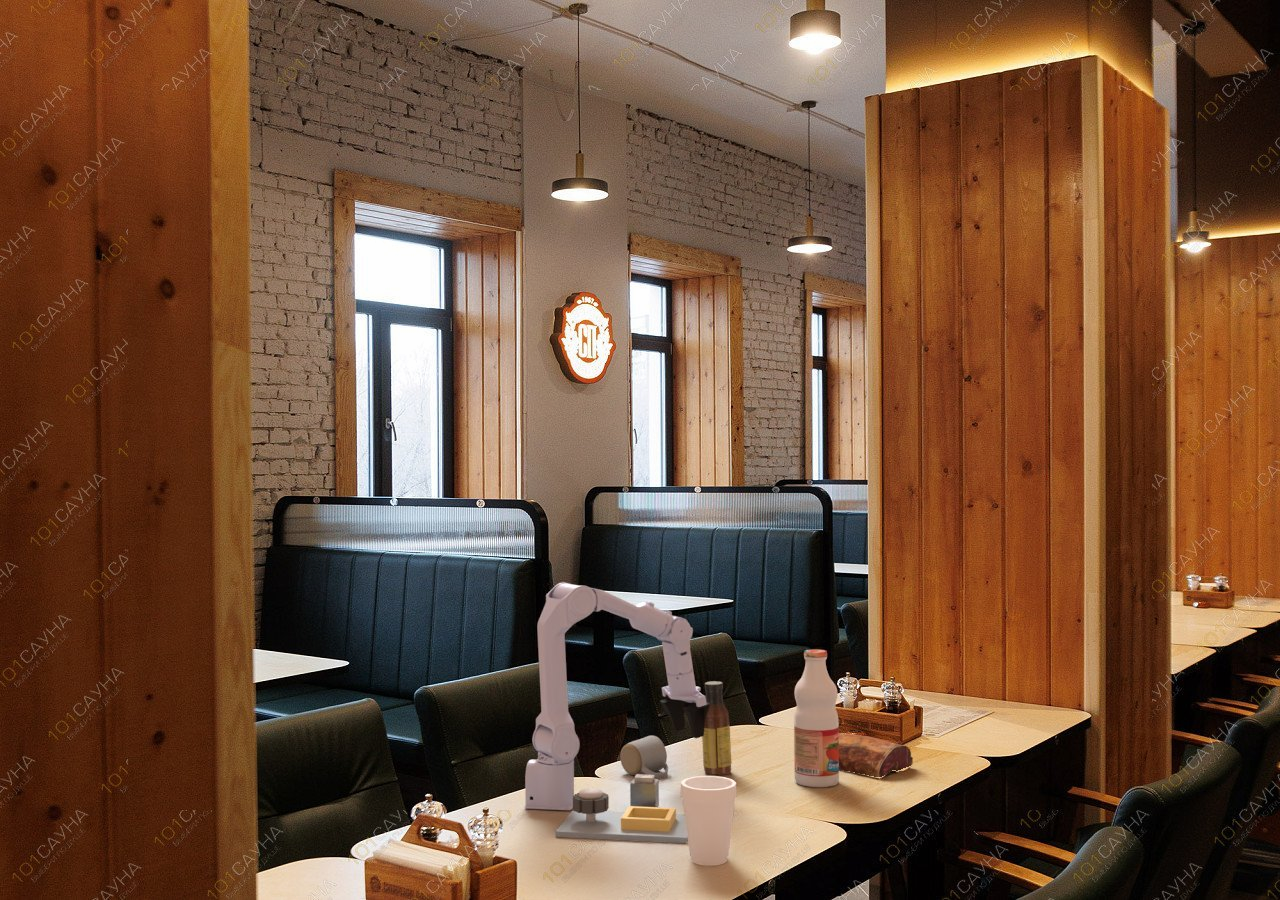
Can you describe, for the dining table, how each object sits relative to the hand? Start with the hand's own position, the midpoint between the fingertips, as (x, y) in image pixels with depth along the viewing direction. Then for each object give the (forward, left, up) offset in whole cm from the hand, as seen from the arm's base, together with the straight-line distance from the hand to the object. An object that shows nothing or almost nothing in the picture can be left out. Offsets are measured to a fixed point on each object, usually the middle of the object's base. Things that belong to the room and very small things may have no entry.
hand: (689, 733), depth 246 cm
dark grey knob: (-14, -33, -7) cm, 37 cm away
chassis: (-7, -33, -11) cm, 36 cm away
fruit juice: (+27, +5, -11) cm, 29 cm away
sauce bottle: (+5, +10, -11) cm, 15 cm away
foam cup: (+10, -48, -11) cm, 51 cm away
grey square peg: (-6, -20, -11) cm, 24 cm away
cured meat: (+35, +24, -11) cm, 44 cm away
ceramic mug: (-10, +7, -11) cm, 16 cm away
